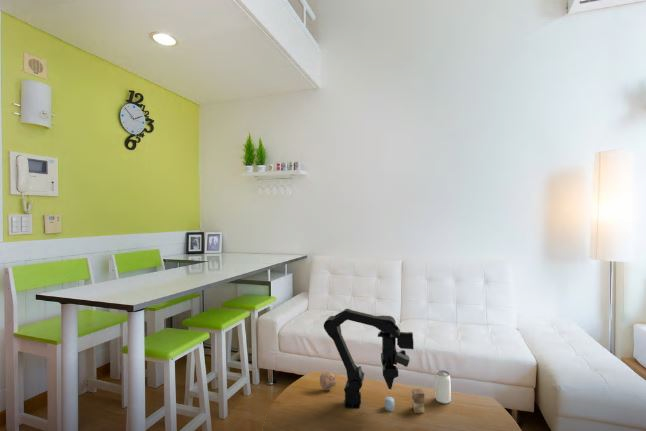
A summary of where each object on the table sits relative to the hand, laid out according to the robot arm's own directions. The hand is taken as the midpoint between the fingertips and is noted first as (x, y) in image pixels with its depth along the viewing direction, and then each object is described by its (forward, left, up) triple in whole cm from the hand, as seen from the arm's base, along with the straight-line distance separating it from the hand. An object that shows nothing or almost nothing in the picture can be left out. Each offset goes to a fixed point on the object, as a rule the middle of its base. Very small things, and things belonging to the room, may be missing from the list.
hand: (389, 383), depth 146 cm
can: (+24, +9, -11) cm, 28 cm away
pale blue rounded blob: (0, 0, -11) cm, 11 cm away
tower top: (+12, 0, -7) cm, 14 cm away
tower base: (+12, 0, -11) cm, 16 cm away
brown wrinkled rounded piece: (-28, +13, -11) cm, 33 cm away
